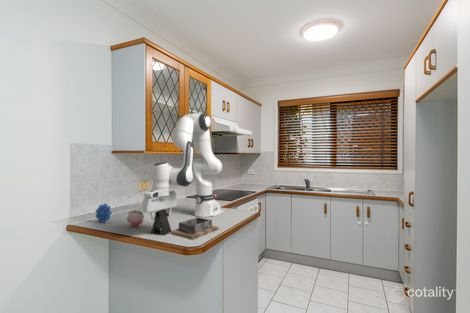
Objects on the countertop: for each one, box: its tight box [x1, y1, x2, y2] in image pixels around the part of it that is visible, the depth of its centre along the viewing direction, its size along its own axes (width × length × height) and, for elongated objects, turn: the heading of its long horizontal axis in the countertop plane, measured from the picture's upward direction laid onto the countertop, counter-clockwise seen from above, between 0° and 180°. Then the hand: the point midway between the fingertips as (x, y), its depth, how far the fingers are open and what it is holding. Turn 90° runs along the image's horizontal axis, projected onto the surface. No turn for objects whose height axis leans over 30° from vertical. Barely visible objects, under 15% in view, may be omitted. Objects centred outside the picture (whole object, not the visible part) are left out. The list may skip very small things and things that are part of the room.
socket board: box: [171, 216, 220, 241], centre depth 133 cm, size 20×16×6 cm
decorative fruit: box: [126, 209, 145, 228], centre depth 143 cm, size 9×8×10 cm
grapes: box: [95, 203, 112, 223], centre depth 152 cm, size 12×7×12 cm, turn 73°
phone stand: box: [150, 209, 172, 236], centre depth 131 cm, size 9×6×12 cm, turn 70°
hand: (160, 218), depth 130 cm, fingers open, 8 cm apart
